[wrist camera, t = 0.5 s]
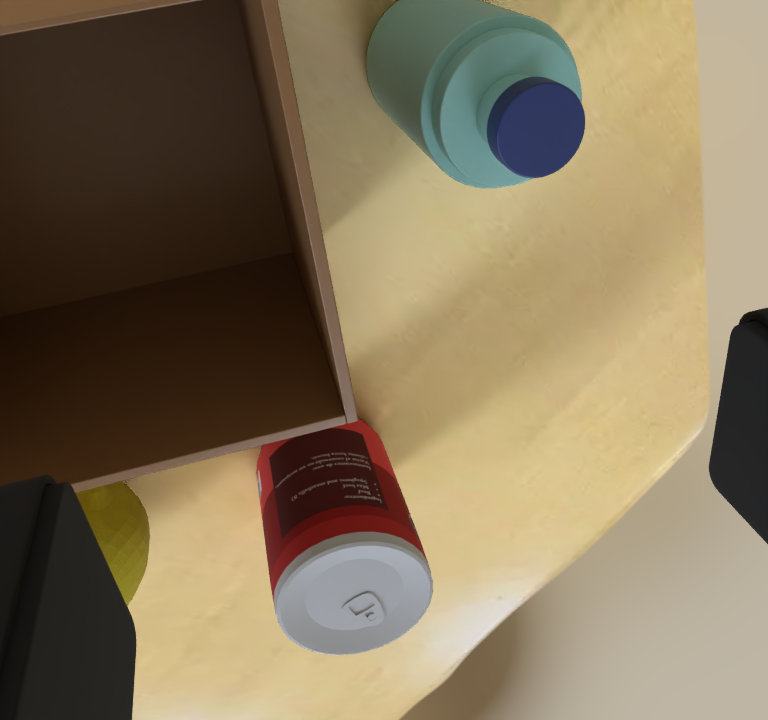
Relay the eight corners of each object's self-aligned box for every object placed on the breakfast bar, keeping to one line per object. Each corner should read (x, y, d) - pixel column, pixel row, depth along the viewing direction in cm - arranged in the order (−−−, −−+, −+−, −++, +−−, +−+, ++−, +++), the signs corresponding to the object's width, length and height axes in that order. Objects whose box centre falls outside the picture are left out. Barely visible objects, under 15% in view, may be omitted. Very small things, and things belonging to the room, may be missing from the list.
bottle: (356, 1, 32) (442, 49, 21) (488, -23, 32) (634, 12, 22) (375, 139, 35) (458, 239, 25) (495, 115, 36) (624, 201, 25)
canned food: (325, 525, 47) (361, 675, 38) (226, 470, 43) (238, 623, 34) (409, 446, 45) (467, 583, 36) (313, 380, 41) (352, 516, 32)
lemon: (38, 412, 38) (9, 519, 32) (181, 455, 42) (182, 559, 35) (-29, 557, 42) (-67, 680, 35) (108, 585, 45) (96, 702, 39)
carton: (-157, 7, 28) (-411, 87, 16) (234, -58, 29) (271, -31, 18) (-3, 321, 35) (-95, 536, 23) (300, 254, 37) (358, 421, 25)
